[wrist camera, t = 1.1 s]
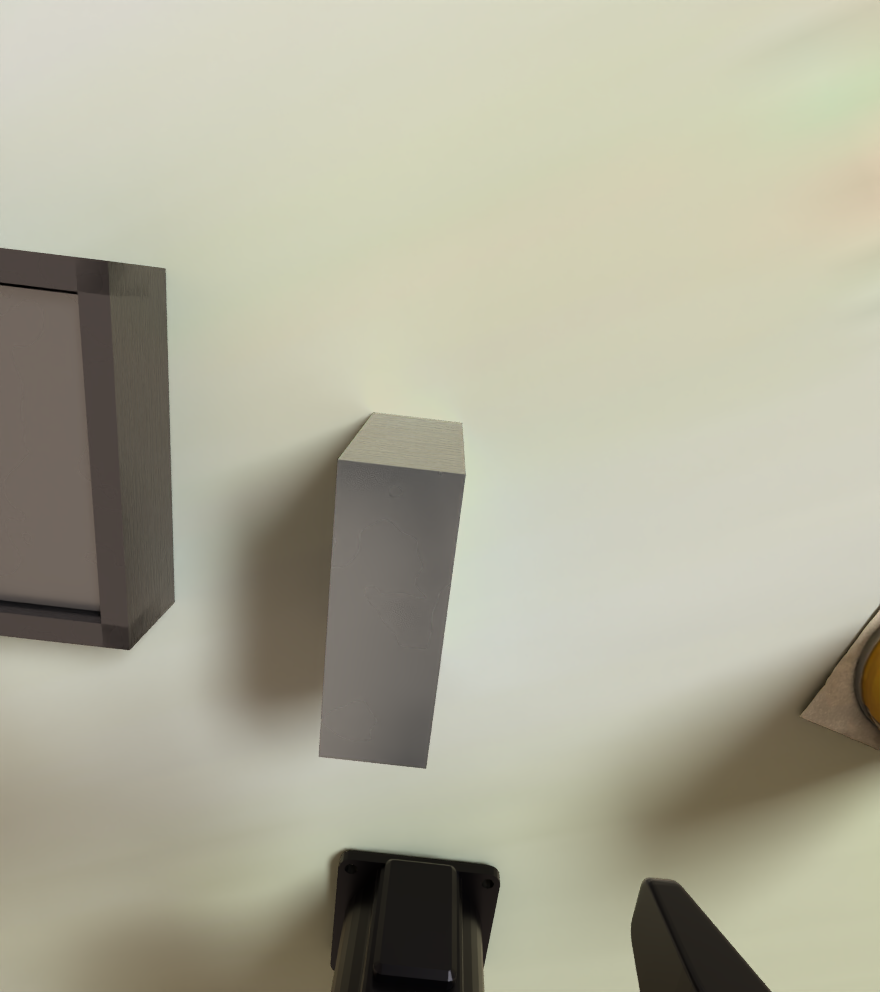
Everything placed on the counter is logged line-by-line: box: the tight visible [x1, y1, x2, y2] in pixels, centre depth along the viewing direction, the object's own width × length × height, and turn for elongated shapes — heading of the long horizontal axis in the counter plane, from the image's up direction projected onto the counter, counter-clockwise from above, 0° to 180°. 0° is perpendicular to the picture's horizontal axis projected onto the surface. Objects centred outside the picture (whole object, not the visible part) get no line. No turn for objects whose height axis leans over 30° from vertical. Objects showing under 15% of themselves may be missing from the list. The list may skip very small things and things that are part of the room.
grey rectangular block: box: [319, 412, 466, 769], centre depth 17 cm, size 8×3×6 cm, turn 173°
